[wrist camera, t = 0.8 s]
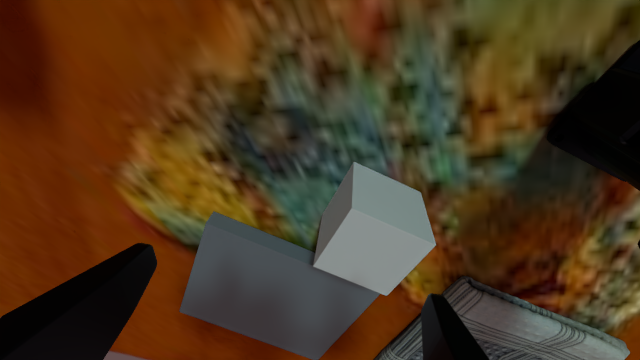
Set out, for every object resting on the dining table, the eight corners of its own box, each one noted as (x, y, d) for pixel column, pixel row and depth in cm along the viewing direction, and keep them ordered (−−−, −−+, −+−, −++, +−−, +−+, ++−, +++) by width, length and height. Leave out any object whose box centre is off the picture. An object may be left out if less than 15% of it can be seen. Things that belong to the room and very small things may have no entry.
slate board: (379, 279, 27) (380, 293, 26) (318, 347, 35) (316, 360, 33) (213, 211, 25) (205, 223, 24) (186, 299, 33) (179, 311, 31)
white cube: (420, 191, 22) (436, 244, 17) (381, 239, 25) (386, 295, 20) (353, 161, 21) (351, 208, 17) (322, 213, 24) (313, 266, 20)
